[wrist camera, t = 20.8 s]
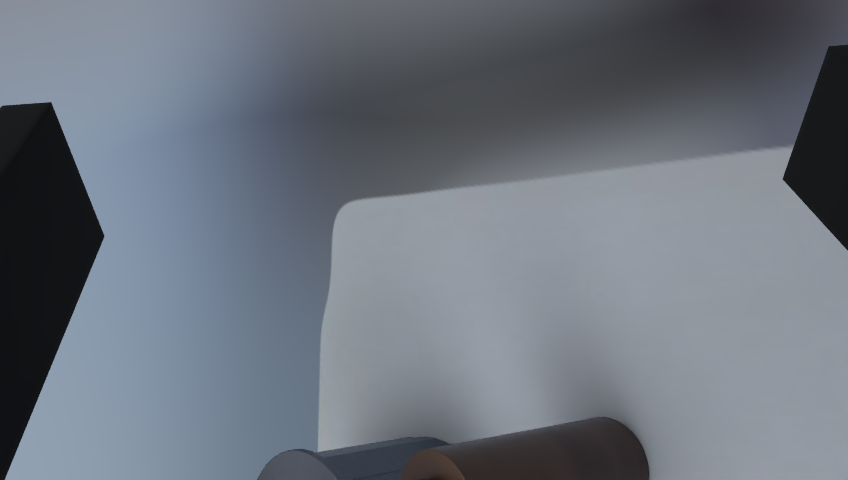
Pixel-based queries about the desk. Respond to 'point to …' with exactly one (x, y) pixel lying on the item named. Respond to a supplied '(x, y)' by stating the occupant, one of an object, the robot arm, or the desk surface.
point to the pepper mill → (538, 455)
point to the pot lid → (299, 467)
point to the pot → (378, 458)
